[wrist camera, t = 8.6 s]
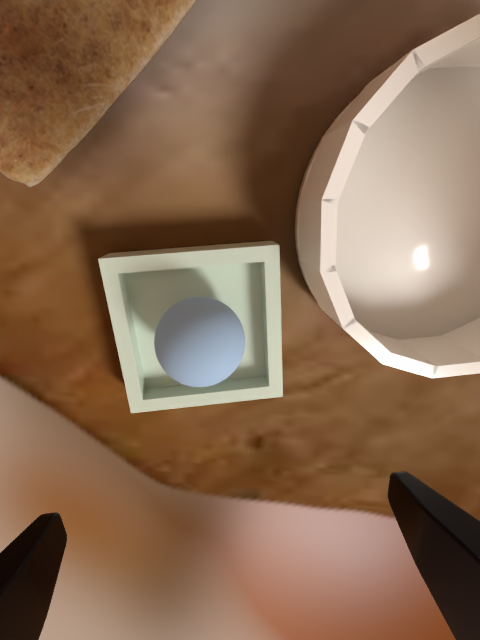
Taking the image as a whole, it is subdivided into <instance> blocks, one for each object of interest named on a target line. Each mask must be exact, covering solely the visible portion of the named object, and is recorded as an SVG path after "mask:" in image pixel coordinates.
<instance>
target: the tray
mask: <svg viewBox="0 0 480 640" xmlns="http://www.w3.org/2000/svg"><path fill="white" fill-rule="evenodd" d="M98 261H99V266H100V271H101V275H102V280H103V285H104V289H105V294H106V299H107V303H108V308H109V313H110V317H111V322H112V327H113V331H114V336H115V341H116V345H117V350H118V355H119V359H120V364H121V369H122V373H123V378H124V383H125V387H126V392H127V397H128V401H129V406H130V411H131V413H138V412H147V411H156V410H165V409H174V408H183V407H192V406H202V405H211V404H220V403H229V402H238V401H247V400H256V399H265V398H274V397H283V384H282V339H281V293H280V248H279V244H277V243H276V242H274V241H260V242H247V243H234V244H221V245H208V246H195V247H182V248H169V249H156V250H143V251H130V252H117V253H109V254H107V255H105V256H103V257H101V258H99V259H98ZM191 297H209V298H213V299H216V300H219V301H220V302H222V303H224V304H225V305H227V306H228V307H230V308H231V309H232V310H233V311H234V312H235V314H236V315H237V316H238V318H239V320H240V322H241V324H242V326H243V329H244V334H245V349H244V354H243V357H242V360H241V362H240V364H239V365H238V367H237V368H236V370H235V371H234V372H233V373H232V374H231V375H230V376H229V377H227V378H226V379H225V380H223V381H221V382H220V383H217V384H215V385H212V386H207V387H191V386H187V385H184V384H181V383H179V382H177V381H176V380H174V379H173V378H171V377H170V376H169V375H168V374H167V373H166V372H165V371H164V370H163V368H162V367H161V365H160V363H159V362H158V359H157V357H156V353H155V347H154V337H155V332H156V328H157V325H158V323H159V321H160V319H161V318H162V316H163V315H164V313H165V312H166V311H167V310H168V309H169V308H170V307H172V306H173V305H174V304H176V303H178V302H180V301H182V300H184V299H187V298H191Z"/></svg>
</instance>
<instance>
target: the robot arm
mask: <svg viewBox="0 0 480 640" xmlns="http://www.w3.org/2000/svg"><path fill="white" fill-rule="evenodd" d="M388 500H389V503H390V506H391V508H392V511H393V513H394V515H395V518H396V520H397V522H398V525H399V527H400V529H401V532H402V534H403V536H404V538H405V541H406V543H407V546H408V548H409V550H410V552H411V555H412V557H413V559H414V562H415V564H416V566H417V568H418V570H419V572H420V574H421V576H422V578H423V579H424V581H425V583H426V585H427V587H428V588H429V591H430V592H431V594H432V596H433V598H434V600H435V602H436V604H437V606H438V607H439V609H440V611H441V613H442V615H443V617H444V619H445V620H446V622H447V624H448V626H449V628H450V630H451V632H452V634H453V635H454V637H455V639H456V640H480V521H479V520H477V519H476V518H474V517H473V516H471V515H470V514H469V513H467V512H466V511H464V510H463V509H461V508H460V507H458V506H457V505H455V504H454V503H452V502H451V501H449V500H448V499H446V498H445V497H444V496H442V495H441V494H439V493H438V492H436V491H435V490H433V489H432V488H430V487H429V486H427V485H426V484H424V483H423V482H421V481H420V480H419V479H417V478H416V477H414V476H413V475H411V474H410V473H408V472H405V471H402V472H394V473H392V474H391V475H390V481H389V489H388ZM66 542H67V534H66V531H65V528H64V525H63V522H62V519H61V516H60V514H59V513H56V512H55V513H47V514H42V515H40V516H39V517H38V518H37V519H36V520H35V521H34V522H33V523H31V524H30V525H29V526H28V527H27V528H26V529H25V530H24V531H23V532H22V533H21V534H20V535H19V536H18V537H17V538H16V539H15V540H13V541H12V542H11V543H10V544H9V545H8V546H7V547H6V548H5V549H4V550H3V551H2V552H1V553H0V640H38V639H39V636H40V634H41V631H42V628H43V625H44V622H45V619H46V617H47V613H48V610H49V607H50V603H51V599H52V595H53V592H54V587H55V584H56V580H57V577H58V573H59V569H60V565H61V562H62V558H63V554H64V550H65V547H66Z"/></svg>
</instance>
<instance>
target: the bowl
mask: <svg viewBox="0 0 480 640" xmlns="http://www.w3.org/2000/svg"><path fill="white" fill-rule="evenodd" d="M295 243H296V251H297V256H298V261H299V266H300V268H301V271H302V274H303V277H304V280H305V282H306V284H307V286H308V288H309V290H310V292H311V294H312V295H313V297H314V298H315V299H316V301H317V303H318V305H319V307H320V308H321V309H322V310H323V311H324V312H325V313H326V314H327V315H328V316H329V317H331V318H332V319H333V320H334V321H335V322H336V323H337V324H338V325H339V326H340V327H341V328H343V329H344V330H345V331H346V332H347V333H348V334H349V335H351V336H352V337H353V338H354V339H355V340H356V341H357V342H358V343H359V344H361V345H362V346H363V347H364V348H365V349H366V350H367V351H368V352H369V353H371V354H372V355H373V356H374V357H375V358H376V359H377V360H378V361H379V362H380V363H381V364H384V365H387V366H391V367H394V368H398V369H401V370H405V371H408V372H412V373H415V374H419V375H422V376H426V377H429V378H440V377H450V376H459V375H468V374H477V373H480V14H478V15H476V16H474V17H472V18H471V19H469V20H467V21H465V22H463V23H461V24H459V25H458V26H456V27H454V28H452V29H450V30H448V31H446V32H445V33H443V34H441V35H439V36H437V37H435V38H434V39H432V40H430V41H428V42H426V43H424V44H422V45H421V46H419V47H417V48H415V49H413V50H412V51H410V52H409V53H408V54H406V55H405V56H404V57H402V58H401V59H400V60H398V61H397V62H396V63H394V64H393V65H392V66H390V67H389V68H388V69H386V70H385V71H384V72H382V73H381V74H380V75H378V76H377V77H376V78H374V79H373V80H372V81H370V82H369V83H368V84H367V85H366V87H365V88H364V89H363V90H362V91H361V93H360V94H359V95H358V96H357V97H356V98H354V99H353V100H352V101H351V102H350V103H349V104H348V105H347V106H346V107H345V109H344V110H343V111H342V112H341V113H340V114H339V115H338V116H337V117H336V119H335V120H334V121H333V123H332V124H331V125H330V127H329V128H328V129H327V131H326V132H325V133H324V135H323V137H322V138H321V140H320V142H319V144H318V145H317V147H316V149H315V150H314V152H313V154H312V157H311V159H310V161H309V164H308V166H307V168H306V171H305V173H304V177H303V180H302V183H301V187H300V190H299V195H298V200H297V206H296V213H295Z"/></svg>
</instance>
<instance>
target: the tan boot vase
mask: <svg viewBox="0 0 480 640" xmlns="http://www.w3.org/2000/svg"><path fill="white" fill-rule="evenodd" d="M195 2H196V0H0V172H1V173H2V174H3V175H5V176H6V177H8V178H9V179H11V180H14V181H17V182H21V183H23V184H25V185H26V186H28V187H32V186H34V185H36V184H38V183H40V182H41V181H42V180H43V179H44V178H45V177H46V176H47V175H48V174H49V173H50V172H52V170H53V169H54V168H55V167H56V166H57V165H58V164H59V163H60V162H61V161H62V160H63V158H64V157H65V156H66V155H67V153H68V152H70V151H71V150H72V149H73V148H75V147H76V146H77V145H78V144H79V142H80V141H81V140H82V139H83V138H84V137H85V136H86V135H87V133H88V132H89V131H90V130H91V129H92V128H93V127H94V125H95V124H96V123H97V122H98V121H99V120H100V119H101V117H102V116H103V115H104V114H105V112H106V111H107V110H108V109H109V108H110V106H111V105H112V104H113V103H114V101H115V100H116V99H117V98H118V97H119V95H120V94H121V93H122V92H123V91H124V90H125V89H126V88H127V87H128V86H129V85H130V83H131V82H132V81H133V80H134V79H135V78H136V77H137V75H138V74H139V73H140V72H141V71H142V70H143V68H144V67H145V66H146V65H147V64H148V62H149V61H150V60H151V59H152V58H153V56H154V55H155V54H156V53H157V52H158V50H159V49H160V48H161V47H162V46H163V44H164V43H165V42H166V41H167V39H168V38H169V37H170V35H171V34H172V33H173V31H174V30H175V29H176V27H177V26H178V25H179V23H180V22H181V20H182V19H183V18H184V16H185V15H186V14H187V13H188V11H189V10H190V9H191V7H192V6H193V5H194V3H195Z"/></svg>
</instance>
